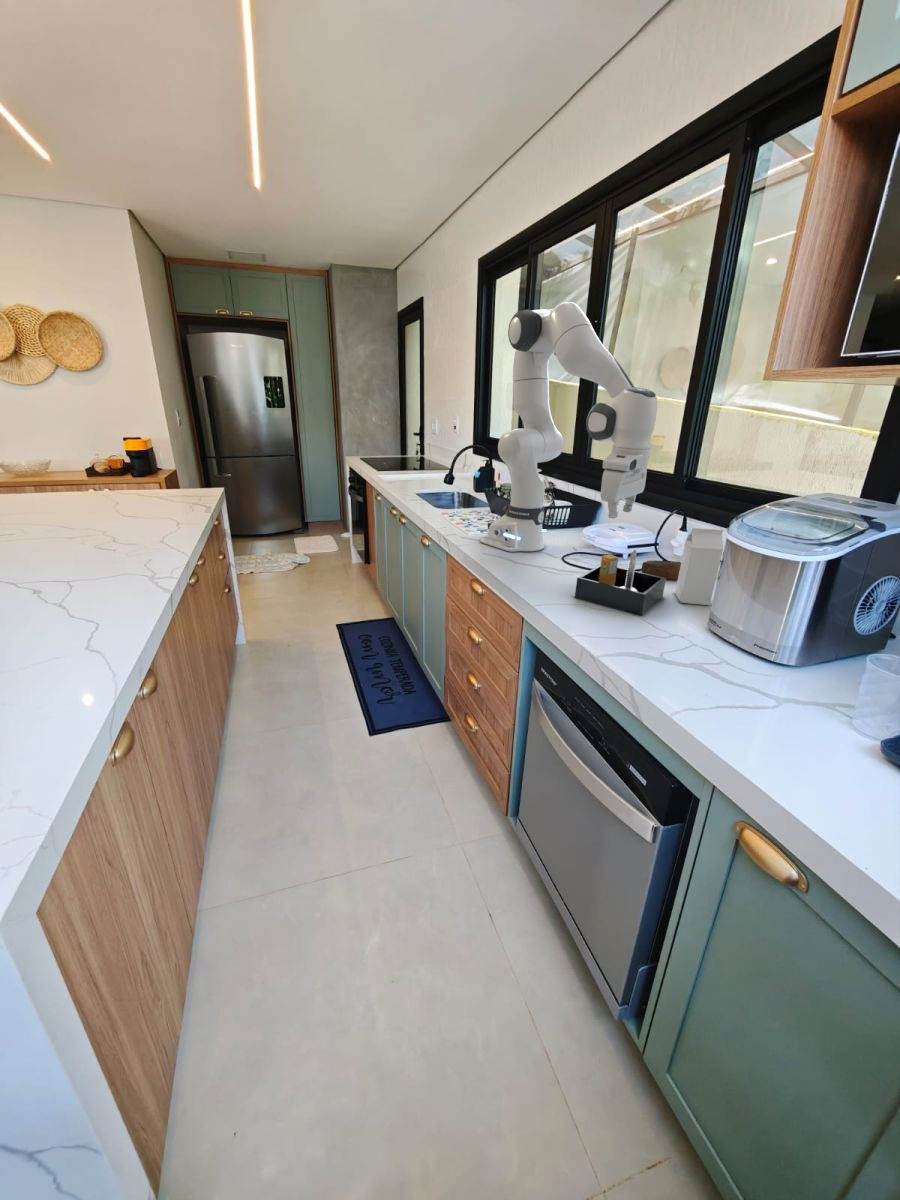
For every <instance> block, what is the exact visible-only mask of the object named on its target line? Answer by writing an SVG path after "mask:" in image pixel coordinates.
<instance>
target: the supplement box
mask: <svg viewBox="0 0 900 1200" xmlns="http://www.w3.org/2000/svg"><path fill="white" fill-rule="evenodd" d="M618 563H619V556H615V555H613V554H611V553H610V554H605V555H602V556H601V560H600V565H601V567H600V574H599V582H601V583H605V584H609V585H613V586H615V579H616V571H617V567H618Z"/></svg>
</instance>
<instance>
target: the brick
mask: <svg viewBox="0 0 900 1200" xmlns="http://www.w3.org/2000/svg"><path fill="white" fill-rule="evenodd" d="M680 566H681V561H675V560H674V561H671V560H646V561H643V562H642V563H641V573H646V574H650V575H654V576H659V577H663V578H666V581H667V580H668V581H678V576H679V571H680Z"/></svg>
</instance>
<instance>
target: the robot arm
mask: <svg viewBox="0 0 900 1200" xmlns="http://www.w3.org/2000/svg"><path fill="white" fill-rule="evenodd" d="M507 336H508V341H509V343H510V346H511V348H513V349H514V350H515V352H514V358H513V366H512V367H513V368H512V403H513V404H512V405H513V407H512V408H513V409H514V411H515V413H516V414H517V415H518V416H519V417H520V419H521V422H522V425H523V428H515V429H512V430H509V431H507V432H504V433H503V434H502V435H501V436H500V438H499V440H498V443H497V452H498V455H499V458H500V460H502V461H503V463H505V465H506V467H507V469H508V473H509V477H510V486H511V487H510V502H509V504H507V505H504V506H503V509H502V510H503V511H505V513H504V514H503V515H502V516H501V517H499V518H498V519H496V520H494V521H491V522H488V523H487V530H488V531H487V534H486V535H484V536H482V537H481V539H480V543H482V544H486V545H488V546H491V547H494V548H497V549H500V550H503V551H506V552H509V553H511V552H512V553H514V552H515V553H516V552H537V551H541V550H543V549H544V548H545V542H544V537H543V536H544V535H543V532H547V529H543V523H544V518H545V506H544V503H545V501H544V500H545V491H546V483H545V480H544V479H543V478H542V477H540V474H539V470H538V463H539V464H540V463H546V462H549V461H551V460H554V459H556V458H557V457H559V456H560V455H561V454H562V452H563V450H564V445H565V444H564V438H563V435H562V434H561V432H560V431H559V430H558V428H557V427H556V425H555V423H554V420H553V417H552V413H551V407H550V393H549V392H550V389H549V388H550V387H549V383H550V382H549V381H550V379H549V376H550V375H549V362H550V359H551V357H552V356H553V355H554V356H555V357H556V359H557V361H558V363H559V365H560V366H561V368H563V370H564V371H565V372H566V373H567V374H568V375H571V376H573V377H577V378H581V379H584V380H587V381H590V382H593V383H595V384H598V385H599V386H601V387H602V388H603V389H604V390H605V391H606V392H607V394H608V396H609V397H610V399H607V400H604V401H602V402H597V403H595V404H594V405H593V406H592V408H590V410H589V412H588V414H587V417H586V430H587V434H588V435H589V436H590V438H591V439H592V440H594V441H598V442H610V443H611V442H612V447H611V451H610V452H609V454H608V455H607V456H606V457H605V458H604V459H603V461H602V469H603V473H602V477H601V486H600V498H601V501H602V502H606V503H607V508H608V515H607V517H608V518H609V519H612V520H613V519H616V518H618V514H619V510H618V506H619V503H620V502H621V501H623V500H625V503H624V504H623V508H622V511H623V512H624V513H630V512H632V510H633V506H634V503H635V501H636V498H637V495H640V494H643V492H644V490H645V488H646V480H647V473H648V465H649V459H650V452H651V449H652V445H651V437H652V435H653V432H654V430H655V426H656V420H657V413H658V398H657V394H656V393H655V392H654V391H653V390H651V389H647V388H641V387H637V386H634V384H633V382H632V380H631V379H630V377H629V376H628V374H627V373H626V371H625V370H624V368H623V367H622V365H621V364H620V362H619V361H618V360H617V359H616V357H614V355H613V354H611V352H610V351H609V350H608V349H607V348H606V347H605V346H604V344H603V343H602V341H601V340H600V338H599V336H598V335H597V333H596V331H595V329H594V328H593V325H592V323H591V321H590V320H589V318H588V317H587V315H586V314H585V312H584V311H583V309H582V308H581V307H580V306H579V305H578V304H576V302H573V301H572V302H571V301H564V302H562V303H559V304H558V305H556V306H555V307H553V308H546V309H532V310H531V309H523V310H520V311H517V312H515V313H514V314H513V316H512V318H511V319H510V321H509V324H508V330H507Z"/></svg>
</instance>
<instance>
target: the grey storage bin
mask: <svg viewBox="0 0 900 1200" xmlns="http://www.w3.org/2000/svg"><path fill="white" fill-rule="evenodd" d="M600 567H601V564H599V565H597V566H595V567H594V568H592V569H590V570H588V571H586V572H585V573H583V574H581V575H579V576H578V577H576V583H575V584H576V585H575V591H574V592H575V593H574V598H575V599H578V600H582V601H586V602H589V603H593V604H597V605H600V606H604V607H607V608H611V609H614V610H618V611H621V612H624V613H625V612H626V613H629V614H632V615H635V616H639V617H642V616H643V615H644V614H646V613H647V612H648V611H649V610H650V609H652V608H653V607H654V606H655V605H656V604H657V603H658V602H660V601H661V600H662V599H663V597H664V592H665V587H666V582H667V579H666V578H663V577H659V576H654V575H650V574H646V573H642V571H637V570H634V571H635V572H634V577H633V581H632V582H633V583H632V584H633V585H632V587H633V588H635V589H636V590H637V591H638V592H636V591H633V590H629V589H625V588H621V586H625V584H626V583H625V582H626V581H625V580H626V578H627V577H626V576H627V571H628V570H627V569H628V568H624V567H619V566H617V571H616V579H615V586H613V585H609V584H605V583H601V582H599V574H600Z"/></svg>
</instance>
